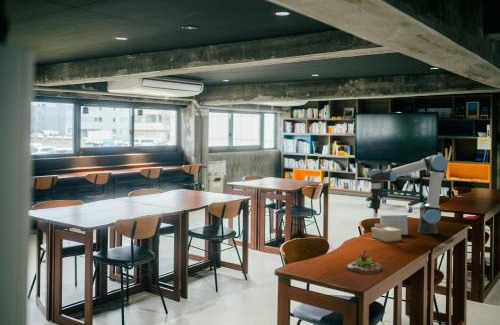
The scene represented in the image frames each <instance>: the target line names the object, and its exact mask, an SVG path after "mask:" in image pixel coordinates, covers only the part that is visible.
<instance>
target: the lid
mask: <svg viewBox="0 0 500 325" xmlns="http://www.w3.org/2000/svg"><path fill="white" fill-rule="evenodd" d="M370 231H371V232H372V231H375V232H378V233H381V234H385V233H386V232H397V231H401V233H402V230H401V229H398V228H394V227H391V226H386V223H380V222H379V223H374V226H373V227H372V226H371V227H370Z"/></svg>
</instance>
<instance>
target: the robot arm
mask: <svg viewBox="0 0 500 325" xmlns="http://www.w3.org/2000/svg"><path fill="white" fill-rule="evenodd" d="M447 167H448V160H447V158H446V157H445V156H444V155H441V154H433V155H430V156H427V157H425V158H422V159H421V160H418V161H414V162H411V163H408V164H404V165H400V166H398V167H394V168H391V169H386V170H381V169H379V168H375V169H374V168H373V169H371V171H370V194H371V195H370V196H369V197H370V203H371V208H372V209H373V218H378V212H379V209H380V208H381V201H382V197H380V194H381V182H394V181H396V180H397V178H398V177H402V176H406V175H408V174H413V173H416V172H419V171H423V170H425V171H428V172H429V173H430V177H429V182H428V183H429V185H428V191H427V200H426V204H421V205H420V206H419V225H418V228H417V233H418V234H422V235H436V234H438V229H437V226H436V225H437V223H438V222H439V221H440V220H441V216H442V215H441V212H440V211H441V206H440V205H439V203H440V197H441V190H442V189H441V188H442V180H443V175H444V174H445V173H446V168H447Z"/></svg>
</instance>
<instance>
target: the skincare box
mask: <svg viewBox="0 0 500 325" xmlns="http://www.w3.org/2000/svg"><path fill="white" fill-rule="evenodd" d="M379 218H380V219H379V220H380V221H379V223H386V226H391V227H394V228H398V229H401V230H402V233H401V236H402V235H409V233H408V232H409V230H408V225H409V224H408V214H380V215H379Z"/></svg>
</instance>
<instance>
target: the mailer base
mask: <svg viewBox="0 0 500 325" xmlns="http://www.w3.org/2000/svg"><path fill="white" fill-rule="evenodd" d="M371 237H372V238H373V239H375V240H376V239H377V240H379V241H382V242H386V243H388V242H397V241H398V242H399V241H401V240H402V235H401V231H397V232H386V233H385V234H381V233H378V232H375V231H372V230H371Z"/></svg>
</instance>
